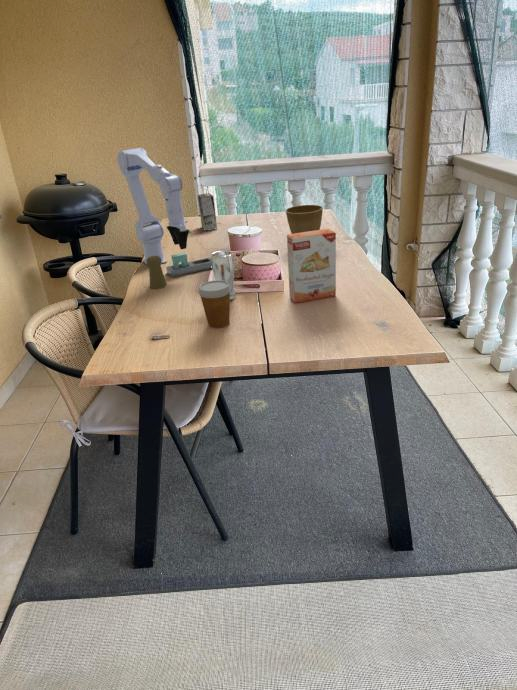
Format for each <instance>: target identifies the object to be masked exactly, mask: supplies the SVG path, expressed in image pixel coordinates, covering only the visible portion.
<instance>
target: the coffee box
mask: <svg viewBox="0 0 517 690" xmlns="http://www.w3.org/2000/svg"><path fill="white" fill-rule="evenodd" d="M197 201H198V209H199V216H200V223H201V224H200V225H201V228H202V227H203V228H204V229H205V230H208V231H210V230H209V229H215V228H217V229H218V224H217V217H216V208H215V207H216V206H215V199H214V195H213V194H211V193H210V192H208V193H202V194H198V195H197ZM203 228H202V229H203ZM204 229H203V230H204ZM205 230H204V231H205ZM215 230H216V229H215Z"/></svg>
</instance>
